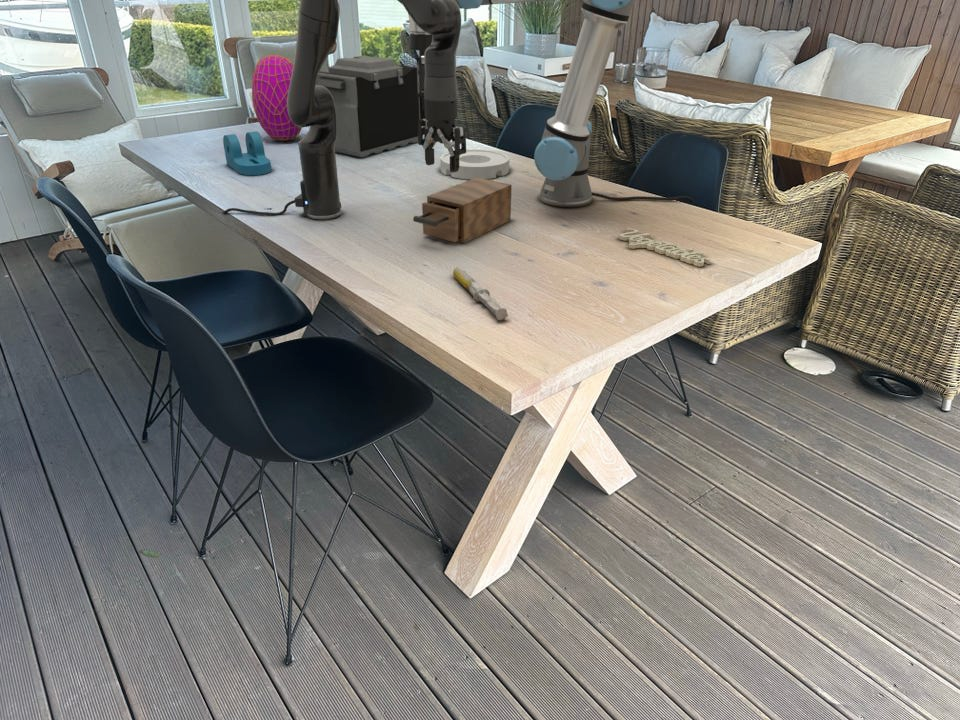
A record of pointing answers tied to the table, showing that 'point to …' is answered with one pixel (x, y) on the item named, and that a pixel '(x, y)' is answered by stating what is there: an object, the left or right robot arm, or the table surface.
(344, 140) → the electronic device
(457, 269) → the syringe
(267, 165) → the camera mount
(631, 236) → the decorative sign
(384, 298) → the table surface
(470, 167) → the ashtray
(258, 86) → the decorative egg
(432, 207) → the drawer
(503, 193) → the cabinet
